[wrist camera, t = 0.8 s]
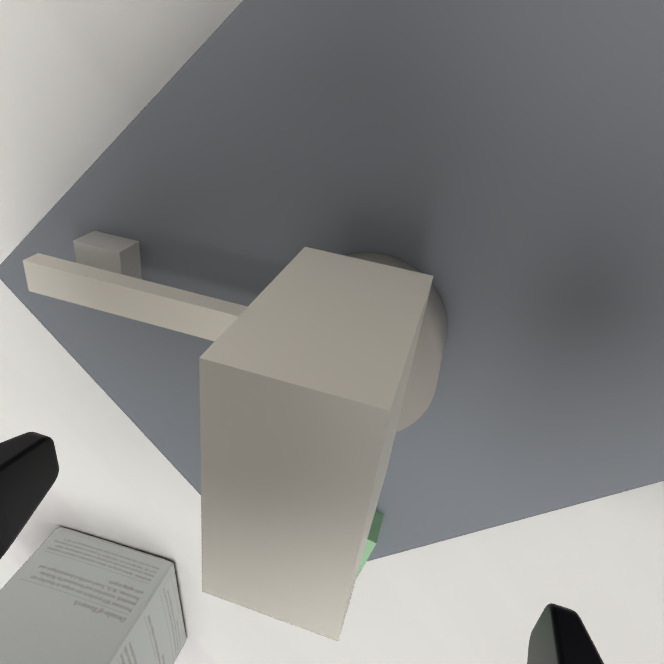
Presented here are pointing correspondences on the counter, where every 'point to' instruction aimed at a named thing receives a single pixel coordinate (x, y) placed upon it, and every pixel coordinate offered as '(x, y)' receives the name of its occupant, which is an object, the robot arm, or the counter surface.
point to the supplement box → (90, 605)
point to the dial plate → (407, 232)
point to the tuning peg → (290, 413)
